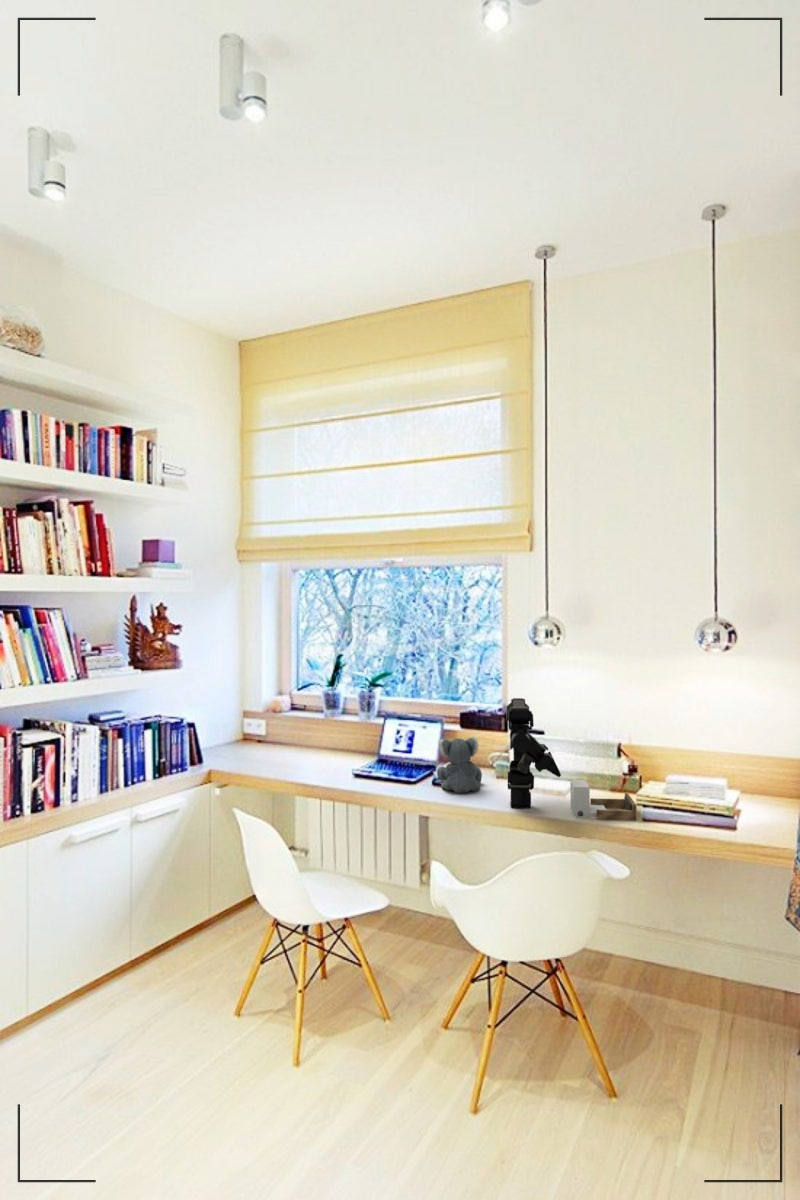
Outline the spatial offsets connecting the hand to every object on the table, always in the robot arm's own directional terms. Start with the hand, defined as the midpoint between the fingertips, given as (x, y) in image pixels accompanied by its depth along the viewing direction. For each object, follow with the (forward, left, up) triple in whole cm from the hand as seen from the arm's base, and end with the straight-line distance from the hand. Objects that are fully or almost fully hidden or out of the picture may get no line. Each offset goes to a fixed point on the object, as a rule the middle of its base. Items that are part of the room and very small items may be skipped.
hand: (559, 775), depth 254 cm
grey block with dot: (+10, 0, -13) cm, 16 cm away
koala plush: (-34, +29, -13) cm, 46 cm away
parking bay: (+17, 0, -13) cm, 21 cm away
